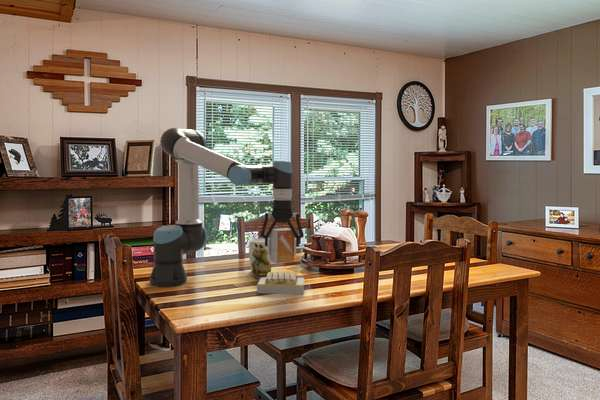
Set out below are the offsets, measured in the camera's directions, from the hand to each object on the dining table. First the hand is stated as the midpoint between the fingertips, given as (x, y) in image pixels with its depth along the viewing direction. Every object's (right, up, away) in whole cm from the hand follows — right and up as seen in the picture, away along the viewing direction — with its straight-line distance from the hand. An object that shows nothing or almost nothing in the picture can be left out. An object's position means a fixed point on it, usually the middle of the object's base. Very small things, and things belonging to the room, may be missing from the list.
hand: (281, 254), depth 200 cm
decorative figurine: (-10, -12, +22) cm, 27 cm away
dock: (0, -14, +1) cm, 14 cm away
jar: (-11, -12, +32) cm, 36 cm away
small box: (0, -3, 0) cm, 3 cm away
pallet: (0, -11, +1) cm, 11 cm away
